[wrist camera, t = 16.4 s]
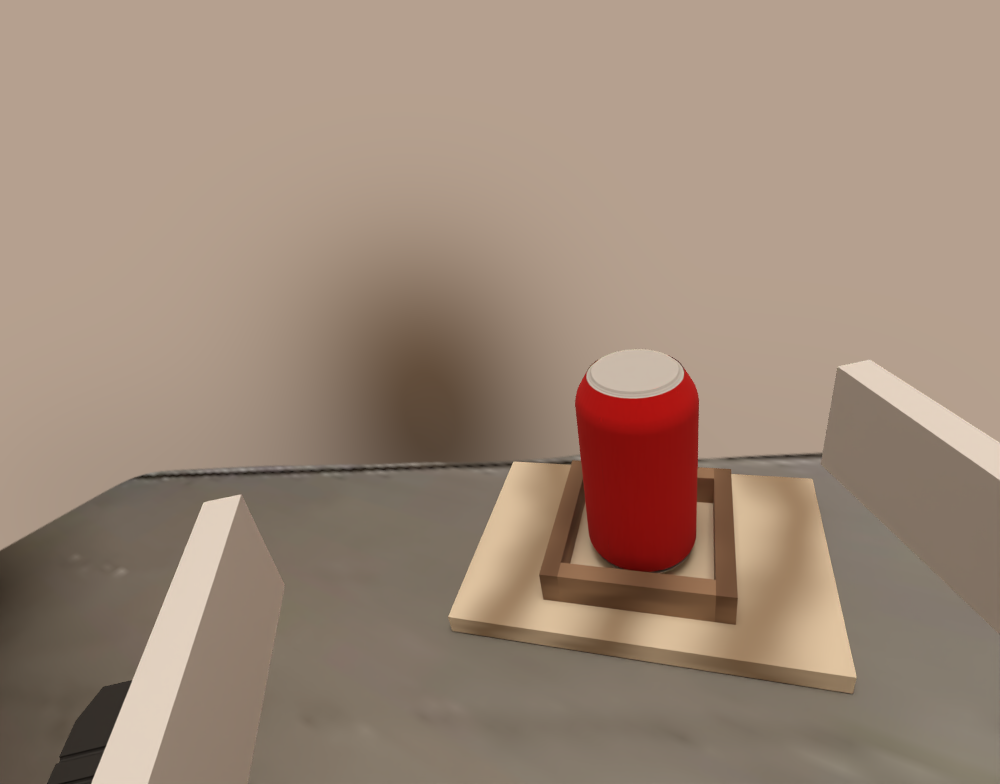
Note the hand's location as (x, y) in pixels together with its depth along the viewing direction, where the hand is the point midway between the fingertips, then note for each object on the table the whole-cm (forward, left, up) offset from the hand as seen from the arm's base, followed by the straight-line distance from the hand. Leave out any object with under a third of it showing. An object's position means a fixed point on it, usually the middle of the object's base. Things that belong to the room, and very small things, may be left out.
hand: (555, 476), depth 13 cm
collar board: (0, +16, -20) cm, 26 cm away
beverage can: (0, +16, -19) cm, 25 cm away
